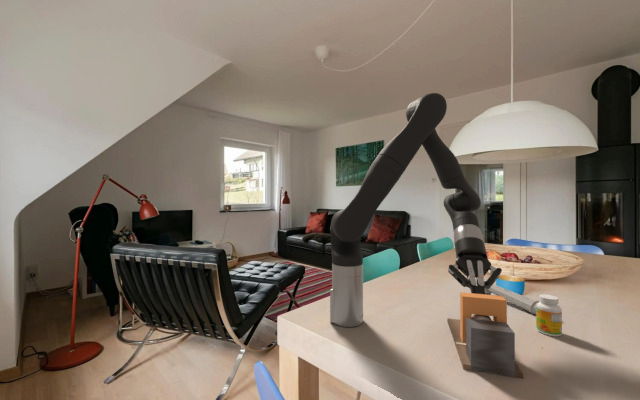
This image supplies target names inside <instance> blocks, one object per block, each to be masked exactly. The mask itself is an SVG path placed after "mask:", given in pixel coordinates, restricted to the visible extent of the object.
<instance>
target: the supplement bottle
mask: <svg viewBox="0 0 640 400" xmlns="http://www.w3.org/2000/svg"><path fill="white" fill-rule="evenodd" d="M535 317H536V318H535V319H536V321H535V322H536V323H535V325H536V327H535V328H536V330H537V331H538V332H539V333H541V334H543V335H545V336H549V337H555V338H556V337H561V336H562V334H563V318H562V317H563V310H562V307H561V306H560V305H559V297H557V296H555V295H552V294H543V293H542V294H539V303H537V305H536V315H535Z"/></svg>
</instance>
